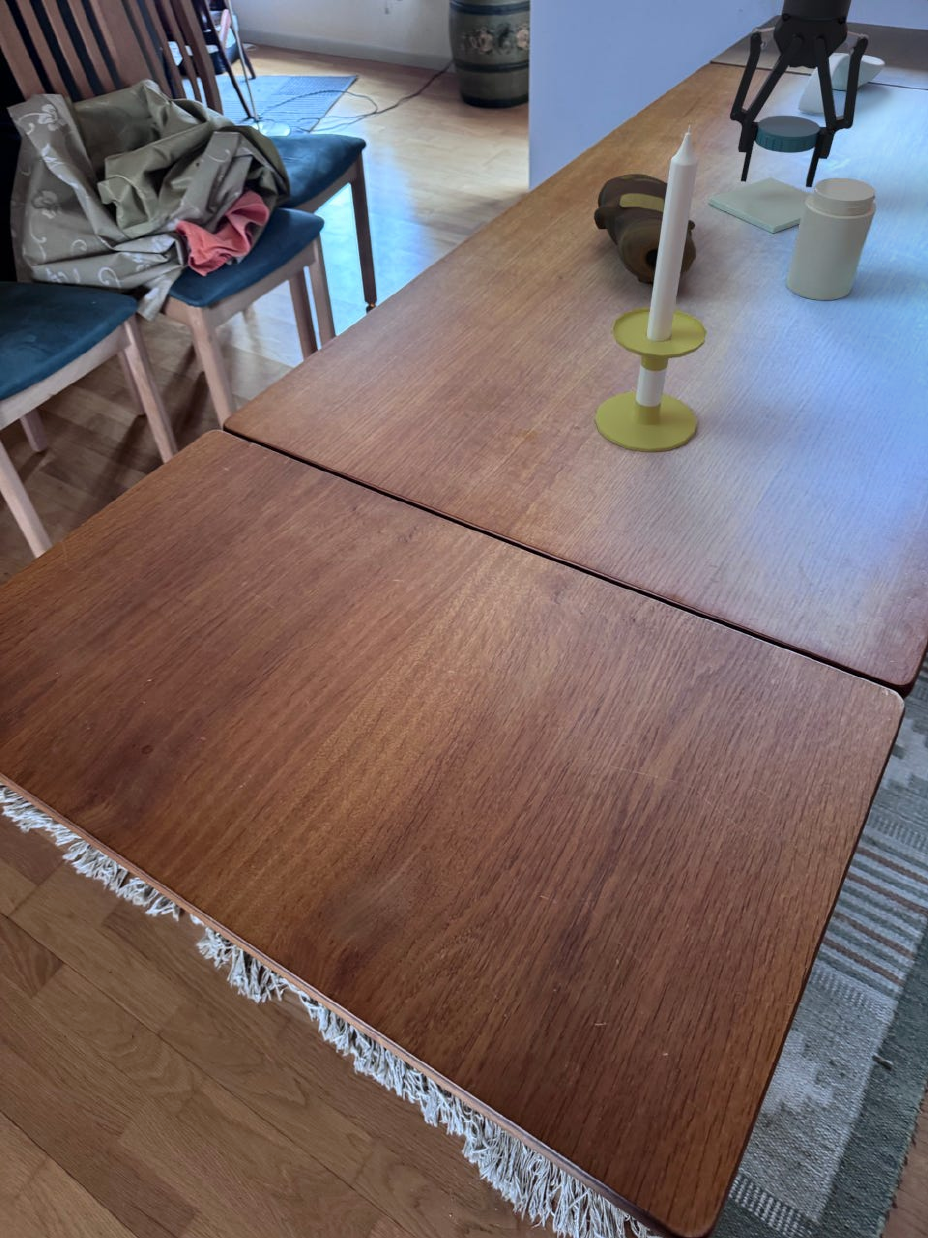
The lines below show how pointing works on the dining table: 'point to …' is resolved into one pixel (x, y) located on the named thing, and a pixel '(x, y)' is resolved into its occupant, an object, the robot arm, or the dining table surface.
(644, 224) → the pottery vessel
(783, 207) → the tile
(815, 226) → the jar
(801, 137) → the lid
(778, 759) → the dining table surface
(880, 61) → the spoon rest
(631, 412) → the candle
